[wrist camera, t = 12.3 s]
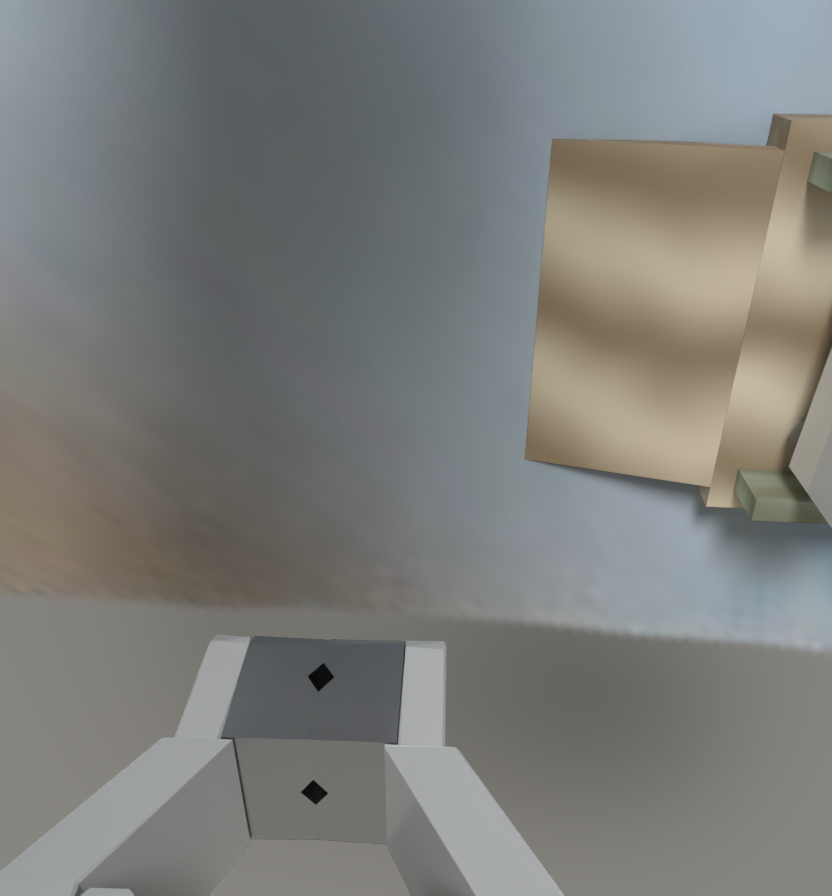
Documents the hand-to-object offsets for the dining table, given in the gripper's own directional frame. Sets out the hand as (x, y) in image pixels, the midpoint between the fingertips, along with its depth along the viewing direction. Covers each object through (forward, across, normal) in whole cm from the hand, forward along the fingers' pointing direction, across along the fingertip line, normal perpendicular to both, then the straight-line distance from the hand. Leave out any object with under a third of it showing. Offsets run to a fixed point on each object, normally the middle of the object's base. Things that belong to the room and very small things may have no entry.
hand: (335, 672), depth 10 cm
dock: (+25, -17, +5) cm, 31 cm away
